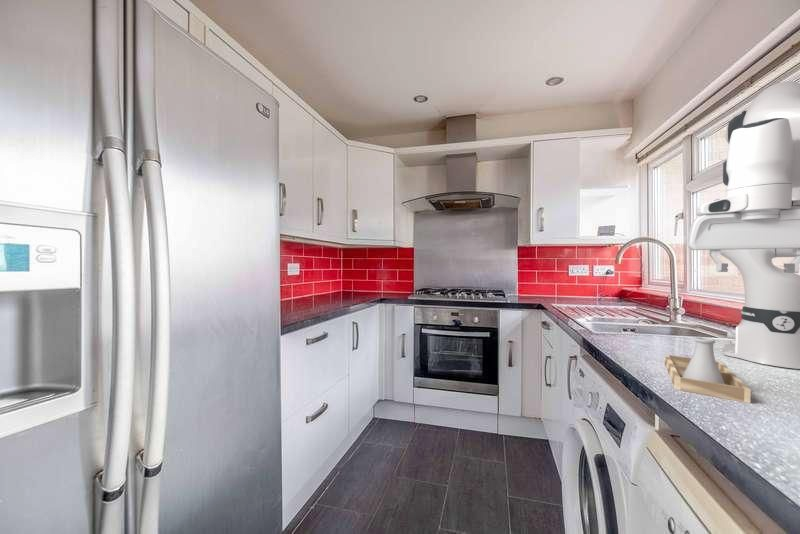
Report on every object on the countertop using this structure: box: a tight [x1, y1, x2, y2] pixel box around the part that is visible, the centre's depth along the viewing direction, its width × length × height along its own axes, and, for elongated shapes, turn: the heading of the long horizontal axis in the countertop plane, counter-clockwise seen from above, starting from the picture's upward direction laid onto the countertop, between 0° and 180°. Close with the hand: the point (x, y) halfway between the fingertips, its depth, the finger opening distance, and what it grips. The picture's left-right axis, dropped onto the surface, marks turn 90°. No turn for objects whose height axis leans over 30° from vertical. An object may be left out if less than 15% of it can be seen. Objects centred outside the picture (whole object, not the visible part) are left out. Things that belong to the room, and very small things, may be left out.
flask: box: [681, 336, 725, 384], centre depth 66 cm, size 7×7×10 cm
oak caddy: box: [664, 354, 752, 404], centre depth 70 cm, size 20×11×2 cm, turn 145°
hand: (754, 272), depth 64 cm, fingers open, 8 cm apart
